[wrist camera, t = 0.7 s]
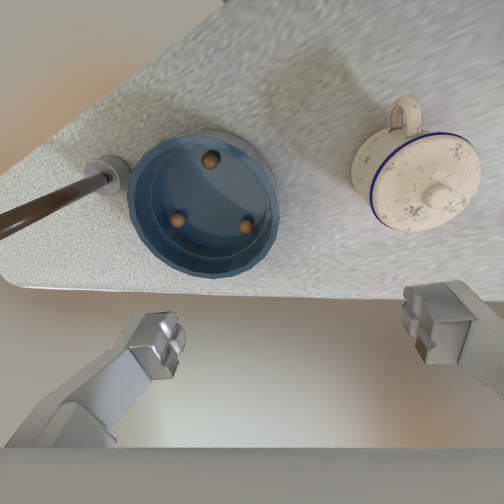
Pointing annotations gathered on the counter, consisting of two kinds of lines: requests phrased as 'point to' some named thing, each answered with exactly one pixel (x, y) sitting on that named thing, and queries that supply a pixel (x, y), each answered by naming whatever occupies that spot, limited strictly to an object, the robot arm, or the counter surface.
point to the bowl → (205, 204)
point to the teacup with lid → (415, 172)
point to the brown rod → (69, 193)
